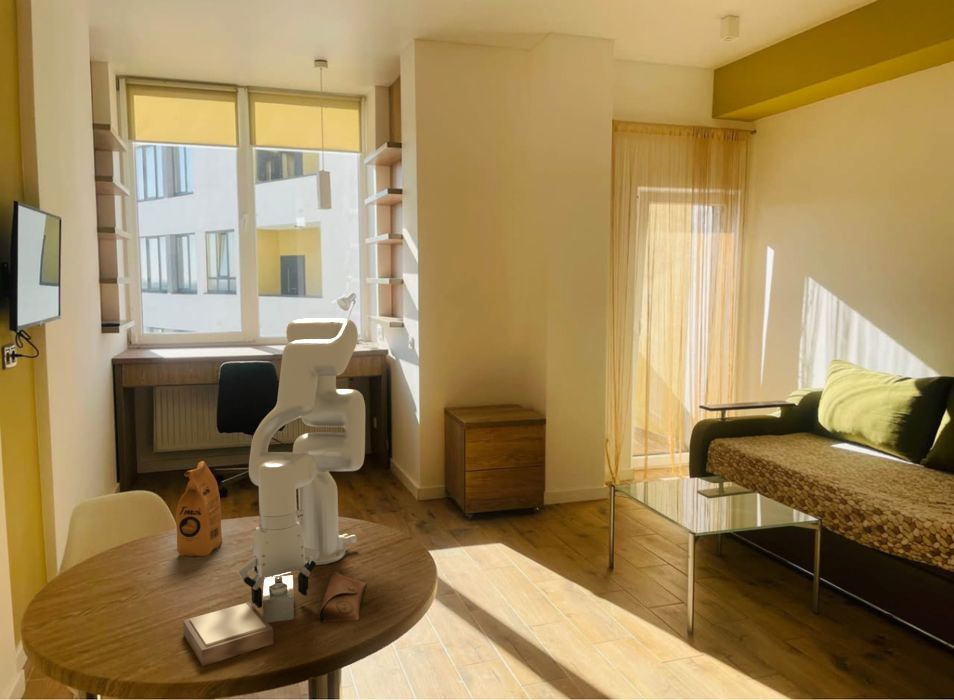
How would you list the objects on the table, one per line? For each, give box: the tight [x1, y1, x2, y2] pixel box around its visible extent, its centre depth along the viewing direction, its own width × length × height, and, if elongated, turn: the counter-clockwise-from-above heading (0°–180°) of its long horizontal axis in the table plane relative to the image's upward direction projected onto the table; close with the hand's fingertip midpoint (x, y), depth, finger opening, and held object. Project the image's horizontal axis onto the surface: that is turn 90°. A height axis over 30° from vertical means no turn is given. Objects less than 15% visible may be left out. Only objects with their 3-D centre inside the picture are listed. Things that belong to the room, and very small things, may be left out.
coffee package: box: [175, 460, 223, 557], centre depth 179 cm, size 10×12×22 cm
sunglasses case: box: [318, 571, 367, 623], centre depth 149 cm, size 18×7×7 cm
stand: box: [182, 601, 275, 667], centre depth 133 cm, size 13×14×3 cm
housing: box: [262, 574, 295, 624], centre depth 145 cm, size 6×11×6 cm, turn 15°
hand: (280, 599), depth 145 cm, fingers open, 9 cm apart
